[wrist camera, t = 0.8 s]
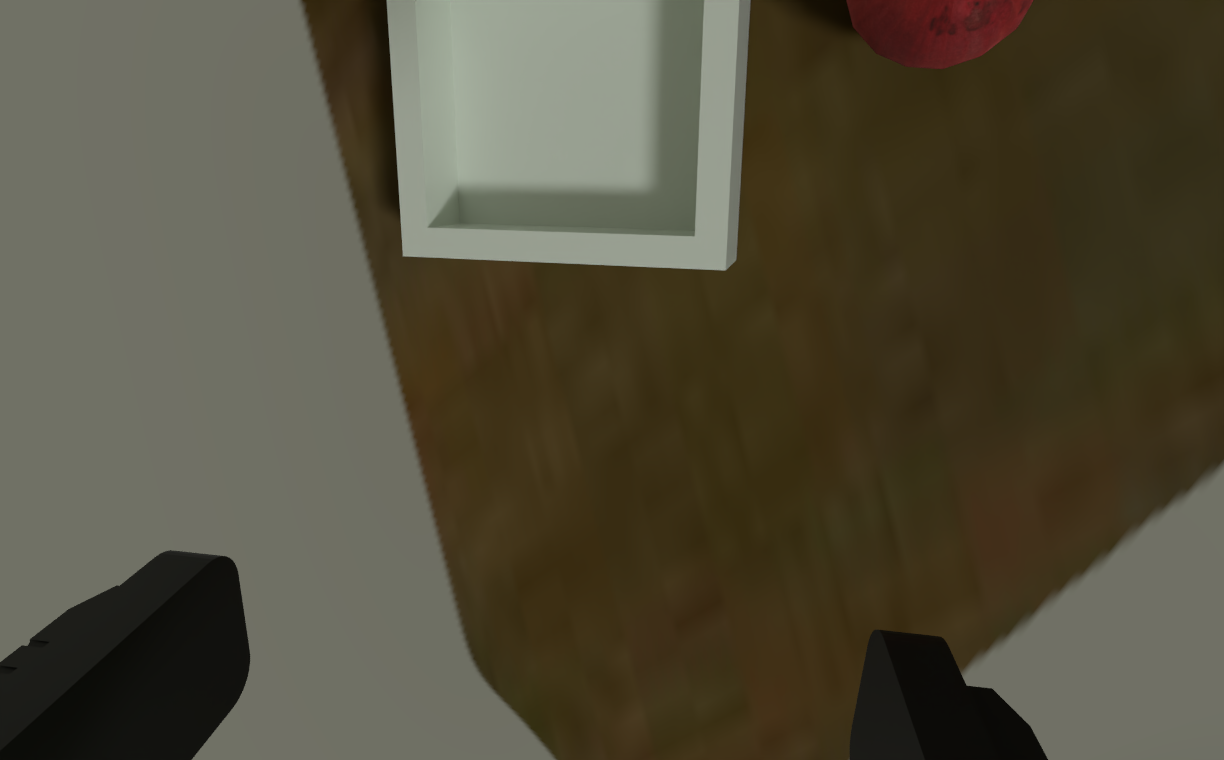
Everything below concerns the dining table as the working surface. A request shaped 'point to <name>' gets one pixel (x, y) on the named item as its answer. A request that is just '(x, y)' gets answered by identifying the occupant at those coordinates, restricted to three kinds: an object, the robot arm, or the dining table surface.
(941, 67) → the onion
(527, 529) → the dining table surface
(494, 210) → the bin
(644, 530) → the dining table surface
